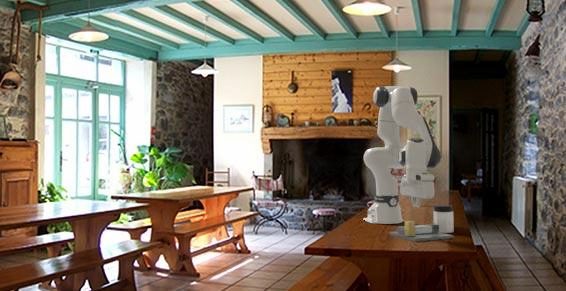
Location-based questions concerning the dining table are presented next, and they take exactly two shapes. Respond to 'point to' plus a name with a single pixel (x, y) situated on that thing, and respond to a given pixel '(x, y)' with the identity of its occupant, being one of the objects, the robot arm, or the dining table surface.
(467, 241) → the dining table surface
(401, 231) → the tongs base
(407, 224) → the lock tab
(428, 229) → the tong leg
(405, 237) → the slate board
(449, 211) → the jar
